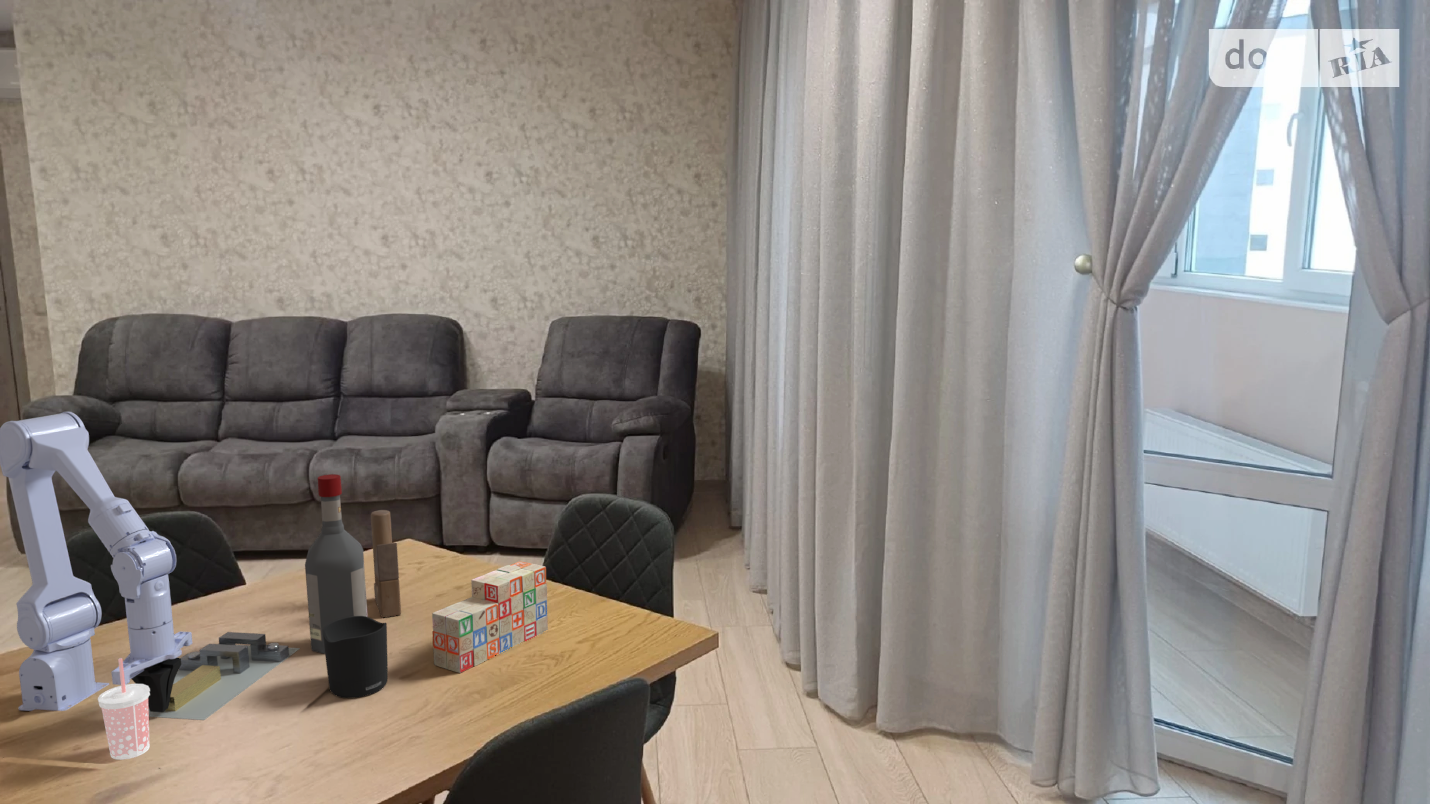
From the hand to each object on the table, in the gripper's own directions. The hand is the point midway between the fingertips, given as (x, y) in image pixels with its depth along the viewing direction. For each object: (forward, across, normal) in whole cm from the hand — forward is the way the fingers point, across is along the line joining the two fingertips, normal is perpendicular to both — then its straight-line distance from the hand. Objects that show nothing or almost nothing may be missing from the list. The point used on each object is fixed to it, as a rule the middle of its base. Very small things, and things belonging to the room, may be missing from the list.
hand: (159, 709), depth 149 cm
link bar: (+1, +7, 0) cm, 7 cm away
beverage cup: (+2, -10, -3) cm, 11 cm away
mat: (+1, +12, 0) cm, 12 cm away
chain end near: (+1, +16, +2) cm, 16 cm away
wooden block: (+2, +47, -13) cm, 49 cm away
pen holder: (+2, +14, -24) cm, 28 cm away
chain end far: (+1, +21, -2) cm, 21 cm away
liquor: (+2, +29, -13) cm, 32 cm away
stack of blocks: (+2, +32, -40) cm, 51 cm away
